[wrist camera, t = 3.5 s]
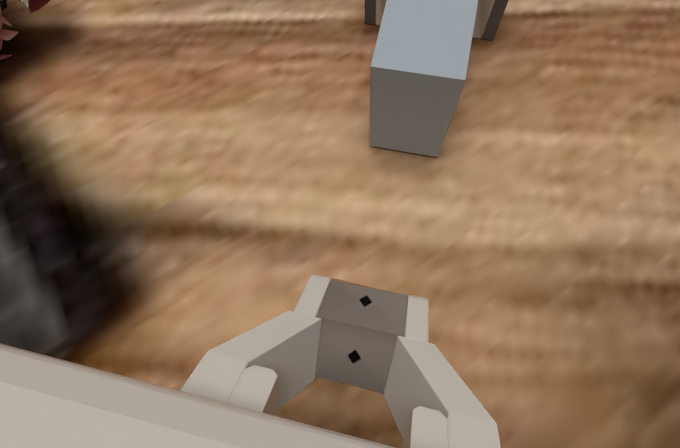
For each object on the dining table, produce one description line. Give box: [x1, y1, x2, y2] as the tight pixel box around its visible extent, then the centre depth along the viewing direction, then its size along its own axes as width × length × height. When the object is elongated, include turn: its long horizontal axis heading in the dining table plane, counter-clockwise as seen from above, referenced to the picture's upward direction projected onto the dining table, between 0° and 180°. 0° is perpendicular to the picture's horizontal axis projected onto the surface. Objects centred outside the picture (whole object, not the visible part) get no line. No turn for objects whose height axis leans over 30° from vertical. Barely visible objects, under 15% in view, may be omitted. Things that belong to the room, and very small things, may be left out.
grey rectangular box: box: [370, 0, 478, 157], centre depth 25 cm, size 12×4×8 cm, turn 167°
